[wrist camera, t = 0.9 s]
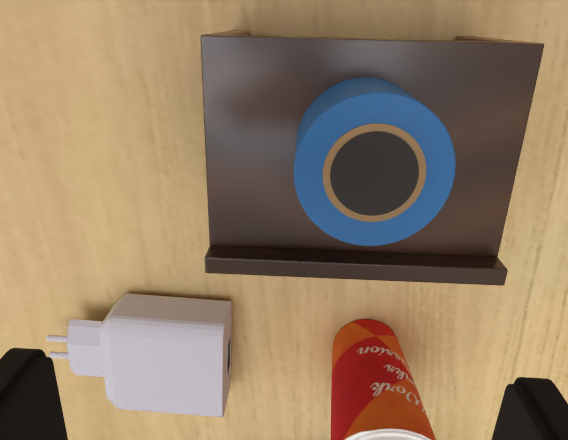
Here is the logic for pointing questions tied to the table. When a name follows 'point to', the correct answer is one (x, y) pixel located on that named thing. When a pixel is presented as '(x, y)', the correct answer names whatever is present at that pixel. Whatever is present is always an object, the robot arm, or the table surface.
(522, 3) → the table surface
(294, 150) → the desk shelf
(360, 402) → the paper cup
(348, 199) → the tape roll
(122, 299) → the charger
